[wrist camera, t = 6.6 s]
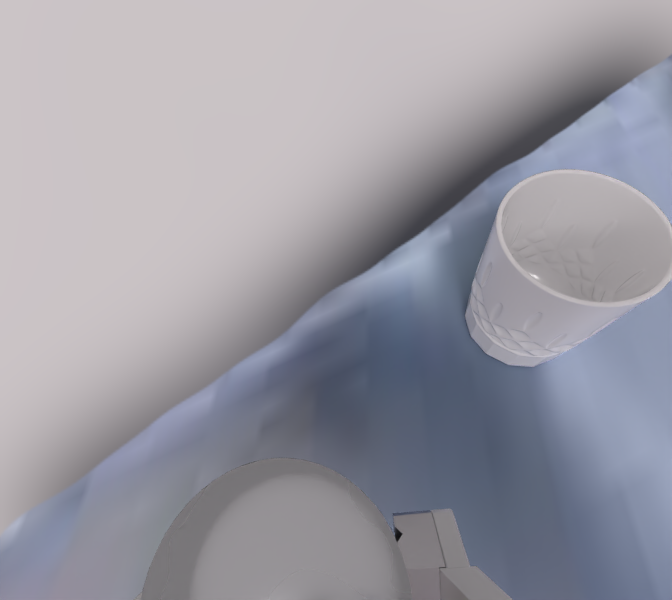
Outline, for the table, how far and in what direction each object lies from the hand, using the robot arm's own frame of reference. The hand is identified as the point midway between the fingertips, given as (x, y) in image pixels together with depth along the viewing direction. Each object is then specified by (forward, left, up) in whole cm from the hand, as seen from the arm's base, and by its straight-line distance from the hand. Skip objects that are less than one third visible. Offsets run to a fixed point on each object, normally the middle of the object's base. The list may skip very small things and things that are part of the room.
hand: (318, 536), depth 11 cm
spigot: (0, +1, -7) cm, 7 cm away
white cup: (-12, -11, -14) cm, 22 cm away
